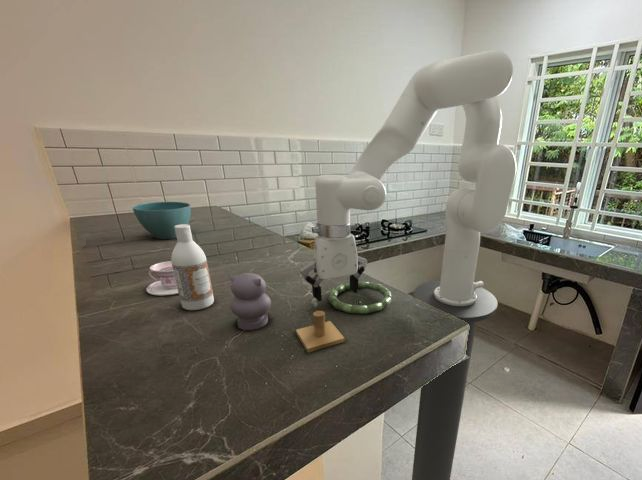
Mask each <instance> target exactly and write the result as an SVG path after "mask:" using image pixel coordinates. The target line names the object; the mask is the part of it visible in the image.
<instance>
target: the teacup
mask: <svg viewBox="0 0 642 480" xmlns="http://www.w3.org/2000/svg"><path fill="white" fill-rule="evenodd" d="M146 272H147V273H148V275H149V277H150V278H151V279H153V280H154V282H152V283H150V284H149V285H148V286H146V289H145V291H146V293H147V294H149V295H151V296H160V297H163V296H174V295H179V293H178V288H177V284H176V280H175V275H174V271H173V267H172V261H171V260H167V261H162V262H158V263H155V264H153V265H152V264H151V266H149V269H148V270H146ZM152 273H154V274H156V276H157V277H158V278H159V279H158V278H157V277H155V276H153V274H152Z"/></svg>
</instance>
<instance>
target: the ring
mask: <svg viewBox="0 0 642 480" xmlns="http://www.w3.org/2000/svg"><path fill="white" fill-rule="evenodd" d="M357 289H360V290H361V289H363V290H365V289H366V290H371V291H375V292H379V293H380V294H381V295H382V296H383V299H381V300H380V301H379V302H376V303H371V304H366V305H356V304H355V305H354V304H353V305H352V304H349V303H346V302H342V301H340V300H339V299H338V295H340V294H341V293H343V292H346V291H351V290H350V282H345V283H341V284H339V285H338V286H336V287H334V288H332V289H331V290H330V292H329V295H328V298H327V300H328V302H329V303H330V304H331V306H333V307H334V308H335V310H339V311H342V312H345V313H348V314H360V315H365V314H366V315H367V314H372V313H375V312H379V311H383V310H384V309H385V308H386V307H388V306H389V305H390V304H391V303H392V301H393V300H392V299H393V298H392V292H391V290H389V289H388V288H387V287H385V286H384V285H382V284H379V283H376V282H373V281H358V288H357Z"/></svg>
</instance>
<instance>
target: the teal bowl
mask: <svg viewBox="0 0 642 480" xmlns="http://www.w3.org/2000/svg"><path fill="white" fill-rule="evenodd" d="M132 212H133V213H134V215H135V217H136V219H137V221H138V222H139V224H140V225H141V227H143V229H144V230H146V231H147V232H148V233H149V234H151V236H153V237H155V238H156V239H159V240H171V239H177V237H176V232H175V226H176V225H180V224H187V225H190V221H191V215H192V207H191V204H190V203H188V202H181V201H156V202H147V203H146V202H145V203H140V204H136V205H133V206H132Z"/></svg>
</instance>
